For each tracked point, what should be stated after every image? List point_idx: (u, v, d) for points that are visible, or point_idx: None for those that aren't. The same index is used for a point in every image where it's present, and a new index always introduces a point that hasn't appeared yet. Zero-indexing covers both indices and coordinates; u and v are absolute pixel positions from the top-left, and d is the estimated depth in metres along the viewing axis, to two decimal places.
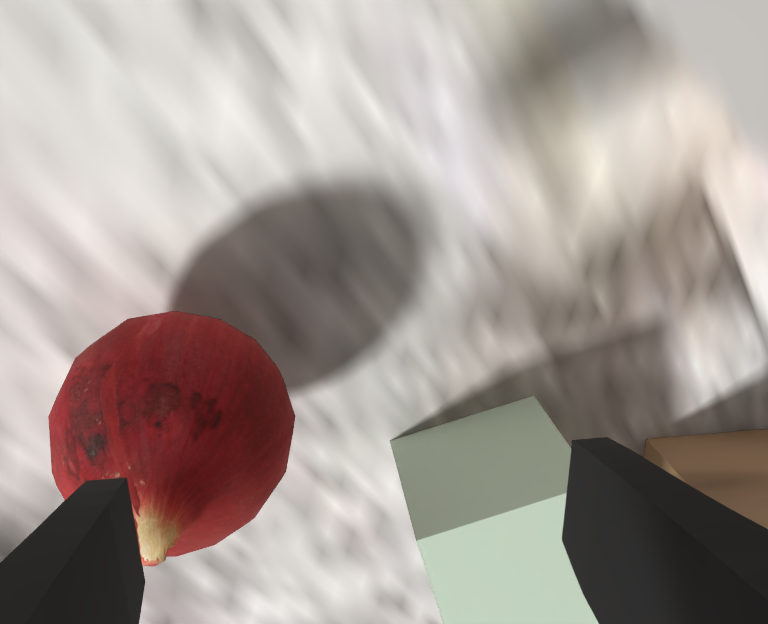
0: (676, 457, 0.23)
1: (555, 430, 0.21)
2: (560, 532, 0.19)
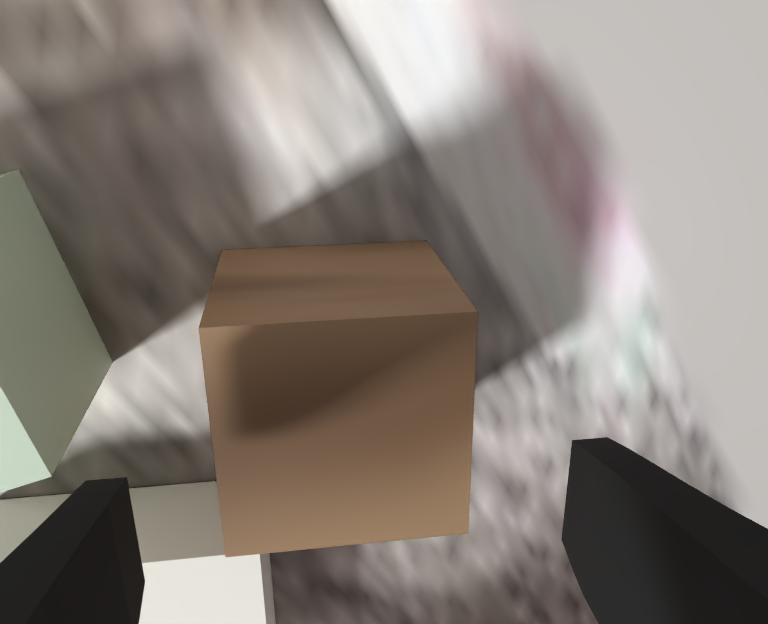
0: (237, 264, 0.15)
1: None
2: None
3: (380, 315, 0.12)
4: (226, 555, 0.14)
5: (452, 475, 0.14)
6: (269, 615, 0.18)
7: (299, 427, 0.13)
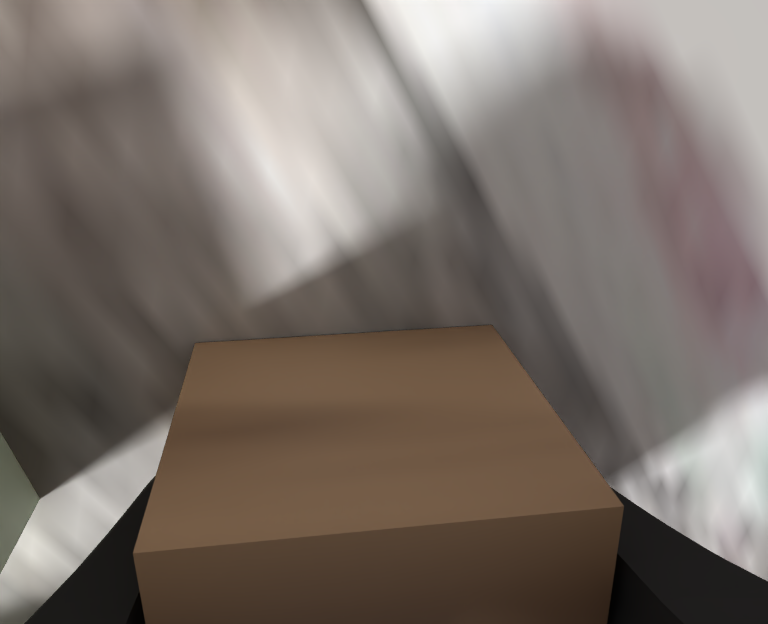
0: (214, 377, 0.10)
1: None
2: None
3: (455, 515, 0.07)
4: None
5: None
6: None
7: None
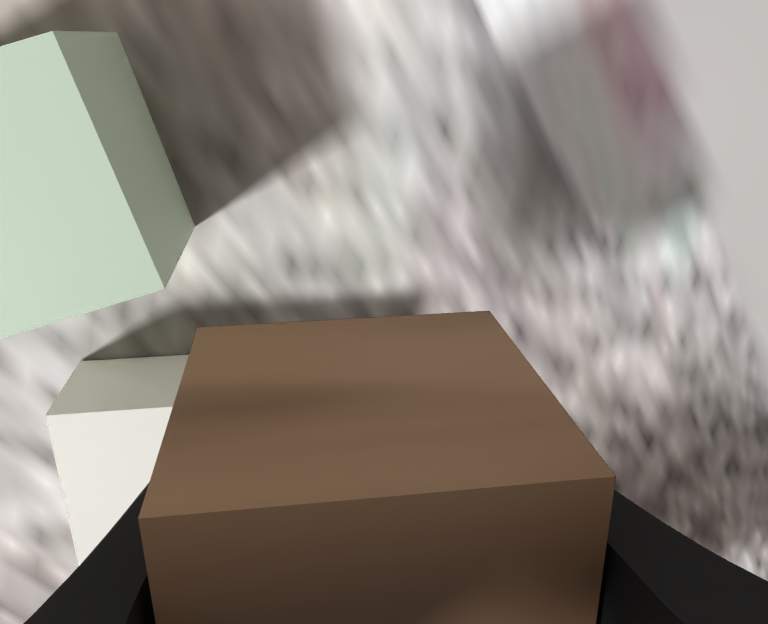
0: (216, 358, 0.10)
1: (90, 32, 0.14)
2: (19, 121, 0.12)
3: (451, 484, 0.07)
4: None
5: None
6: None
7: None
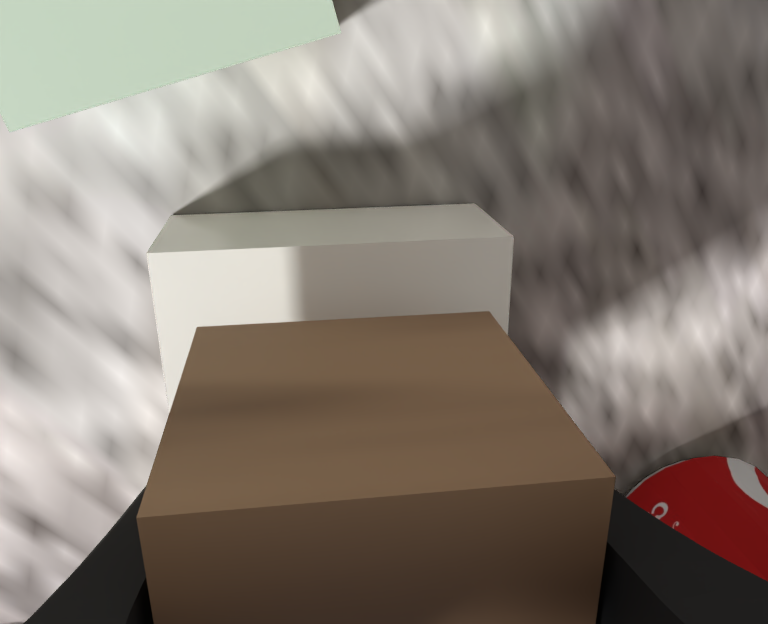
0: (216, 358, 0.10)
1: None
2: None
3: (450, 484, 0.07)
4: None
5: None
6: None
7: None
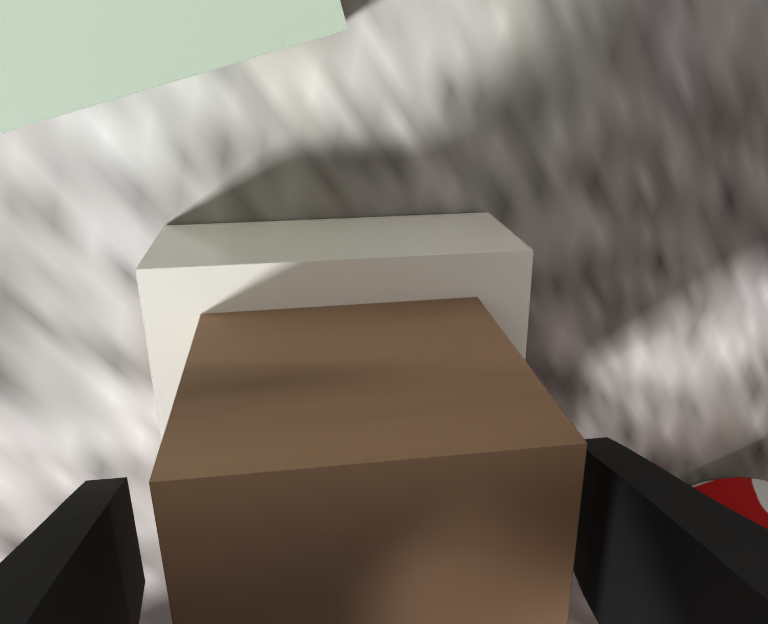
0: (219, 342, 0.11)
1: None
2: None
3: (435, 451, 0.08)
4: None
5: None
6: None
7: (309, 615, 0.08)
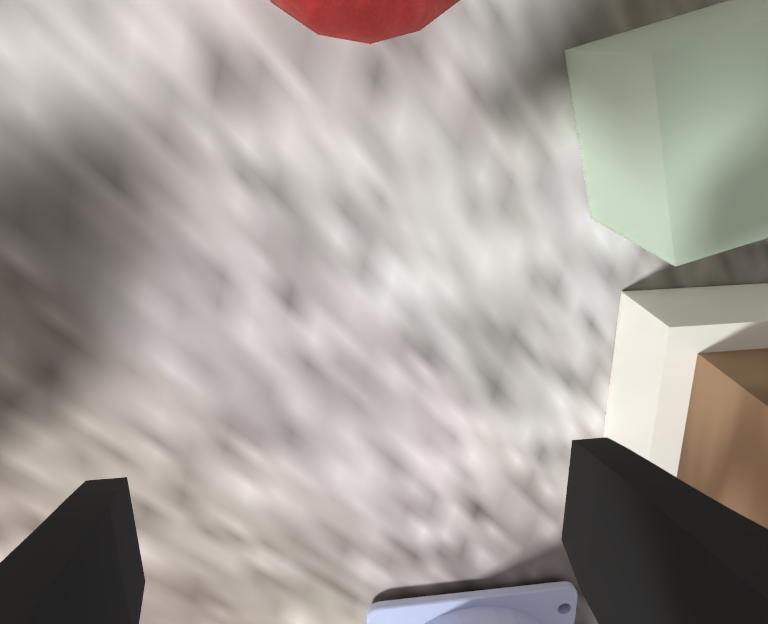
0: (739, 372, 0.19)
1: None
2: None
3: None
4: None
5: None
6: None
7: None
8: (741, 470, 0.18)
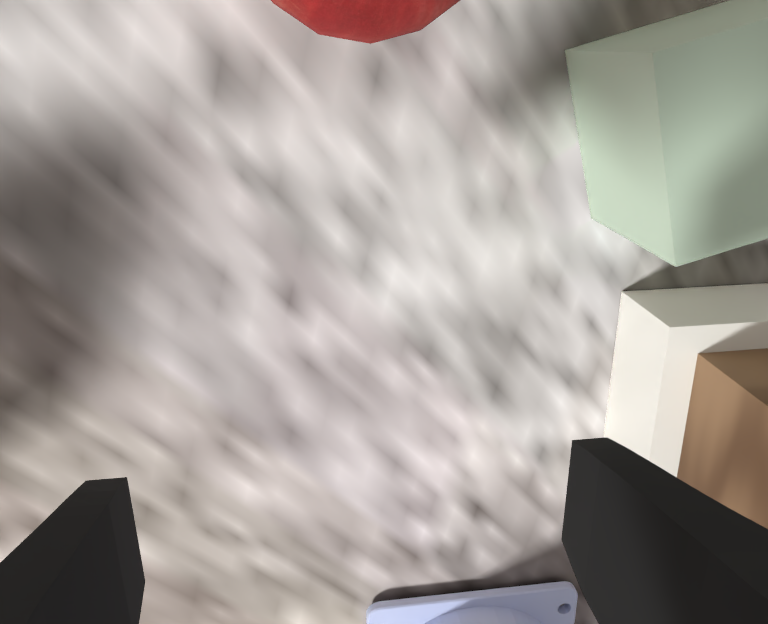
0: (739, 372, 0.19)
1: None
2: None
3: None
4: None
5: None
6: None
7: None
8: (742, 471, 0.18)
